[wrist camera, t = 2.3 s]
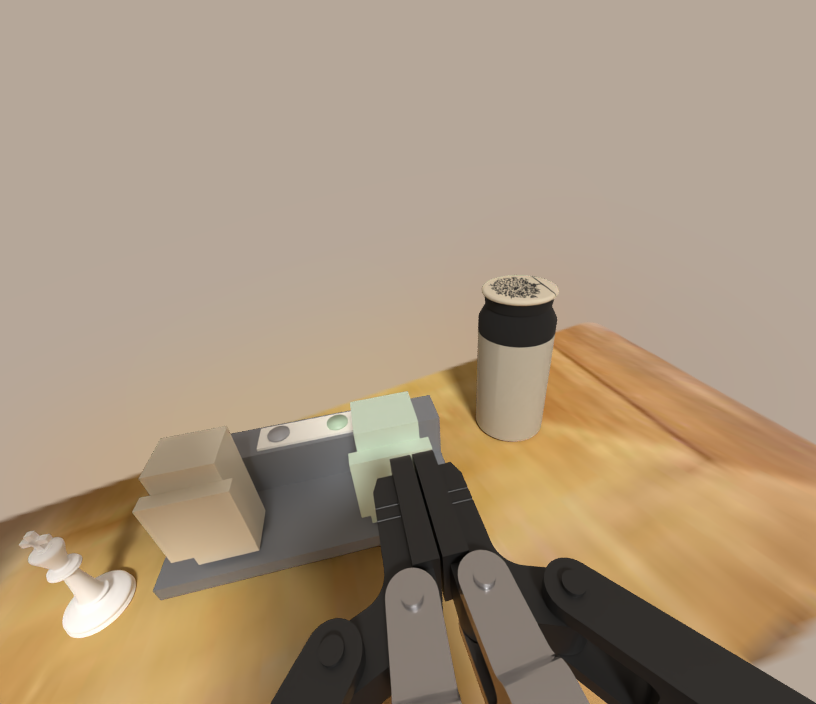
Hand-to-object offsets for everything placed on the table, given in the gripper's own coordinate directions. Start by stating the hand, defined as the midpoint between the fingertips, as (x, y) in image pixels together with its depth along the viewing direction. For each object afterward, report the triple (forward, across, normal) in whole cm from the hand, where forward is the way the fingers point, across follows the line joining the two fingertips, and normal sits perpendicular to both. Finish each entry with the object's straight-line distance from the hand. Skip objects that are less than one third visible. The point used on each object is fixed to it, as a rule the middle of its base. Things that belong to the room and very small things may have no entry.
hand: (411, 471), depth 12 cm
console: (+17, +8, +22) cm, 29 cm away
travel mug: (+23, -16, +22) cm, 36 cm away
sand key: (+13, +15, +20) cm, 28 cm away
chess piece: (+12, +26, +22) cm, 36 cm away
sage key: (+13, 0, +20) cm, 24 cm away
